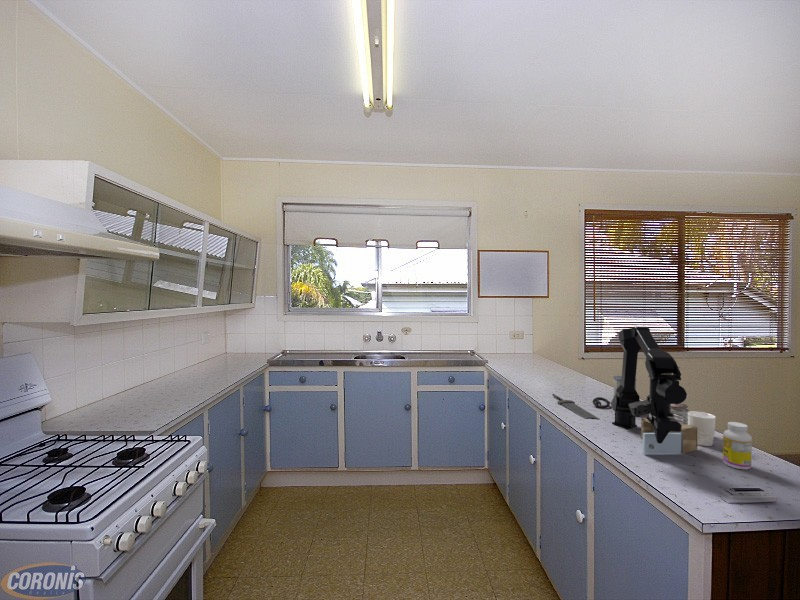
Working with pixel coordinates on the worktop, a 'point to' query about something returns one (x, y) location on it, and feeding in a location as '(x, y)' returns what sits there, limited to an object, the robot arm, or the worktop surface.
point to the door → (663, 444)
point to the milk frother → (616, 384)
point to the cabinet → (687, 430)
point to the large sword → (575, 408)
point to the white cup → (703, 426)
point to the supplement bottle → (737, 446)
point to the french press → (680, 411)
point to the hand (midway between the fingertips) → (659, 443)
